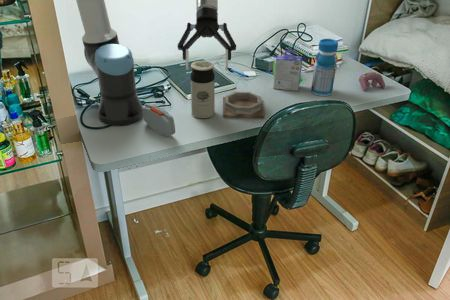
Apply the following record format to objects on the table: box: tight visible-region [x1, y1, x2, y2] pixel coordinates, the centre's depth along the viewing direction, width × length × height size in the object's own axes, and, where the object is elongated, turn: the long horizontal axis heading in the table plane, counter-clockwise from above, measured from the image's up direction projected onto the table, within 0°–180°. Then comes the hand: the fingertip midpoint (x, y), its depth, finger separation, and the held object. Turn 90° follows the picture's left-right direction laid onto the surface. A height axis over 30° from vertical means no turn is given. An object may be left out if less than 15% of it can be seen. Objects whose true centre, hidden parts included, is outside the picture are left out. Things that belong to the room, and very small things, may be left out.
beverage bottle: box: [310, 38, 339, 97], centre depth 165 cm, size 8×8×20 cm
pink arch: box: [358, 71, 386, 92], centre depth 174 cm, size 10×5×7 cm, turn 109°
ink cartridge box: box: [273, 49, 303, 92], centre depth 170 cm, size 10×6×14 cm, turn 78°
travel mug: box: [189, 60, 216, 119], centre depth 150 cm, size 8×8×18 cm
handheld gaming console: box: [142, 103, 176, 137], centre depth 142 cm, size 14×3×8 cm, turn 45°
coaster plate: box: [222, 91, 265, 119], centre depth 158 cm, size 14×14×4 cm
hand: (206, 68), depth 152 cm, fingers open, 13 cm apart
